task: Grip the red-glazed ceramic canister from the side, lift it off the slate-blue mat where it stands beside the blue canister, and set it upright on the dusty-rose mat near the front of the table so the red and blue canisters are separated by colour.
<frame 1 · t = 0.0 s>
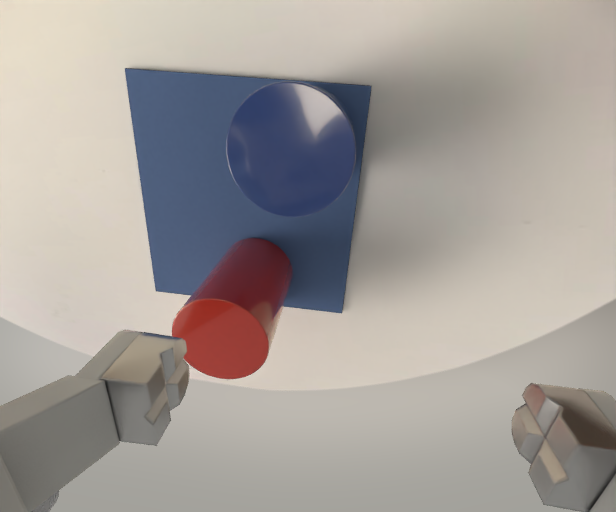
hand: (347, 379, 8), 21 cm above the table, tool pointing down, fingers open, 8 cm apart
blue mat: (247, 203, 29), on the table
red canister: (257, 270, 31), resting on blue mat
blue canister: (310, 134, 26), resting on blue mat
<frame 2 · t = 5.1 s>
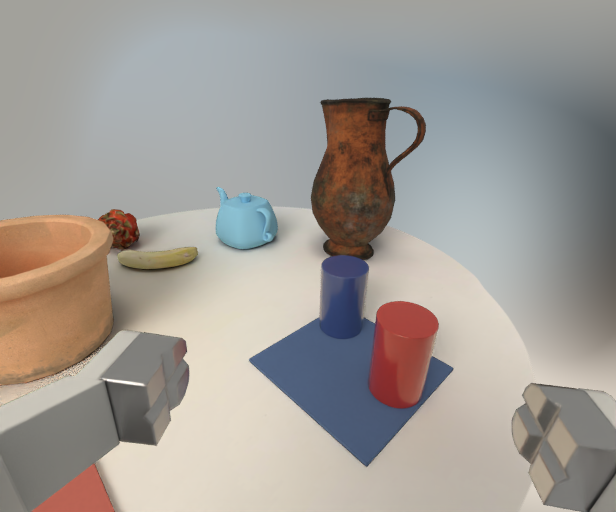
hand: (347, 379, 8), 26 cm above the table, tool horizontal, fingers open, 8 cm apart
blue mat: (350, 365, 45), on the table
teapot: (244, 239, 79), on the table
red canister: (394, 386, 41), resting on blue mat
pitcher: (355, 254, 74), on the table
fruit: (159, 262, 69), on the table
pottery: (46, 340, 48), on the table
blue canister: (340, 324, 51), resting on blue mat
dragon fruit: (120, 245, 75), on the table
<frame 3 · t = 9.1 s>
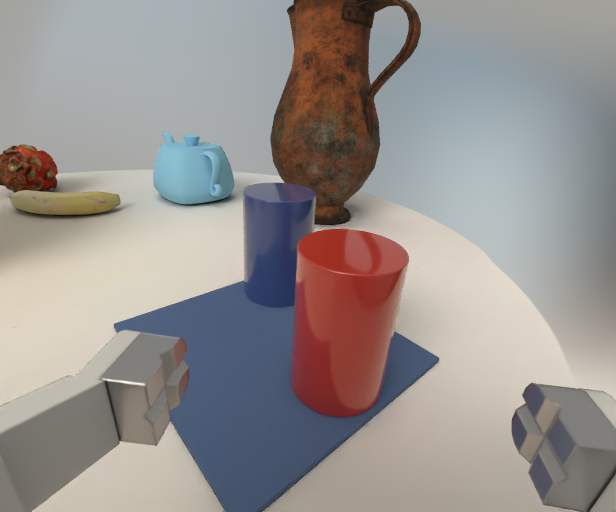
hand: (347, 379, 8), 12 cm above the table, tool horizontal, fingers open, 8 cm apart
blue mat: (272, 344, 28), on the table
teapot: (192, 196, 63), on the table
red canister: (335, 379, 24), resting on blue mat
pitcher: (327, 218, 57), on the table
fruit: (68, 210, 53), on the table
blue canister: (277, 289, 35), resting on blue mat
dragon fruit: (32, 192, 60), on the table
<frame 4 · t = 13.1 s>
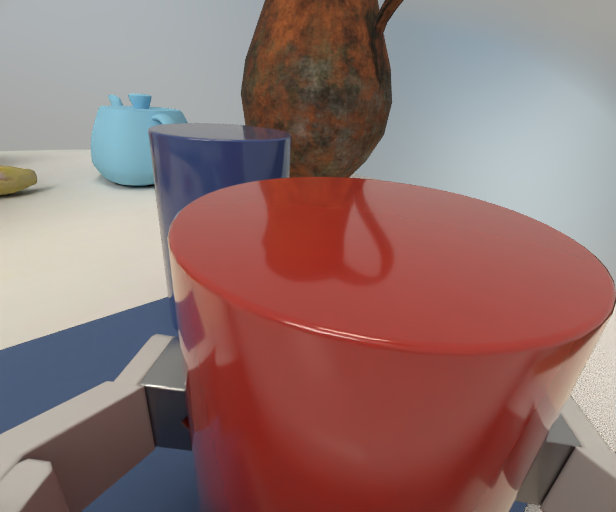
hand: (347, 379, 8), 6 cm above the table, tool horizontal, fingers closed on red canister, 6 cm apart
blue mat: (196, 433, 13), on the table
teapot: (147, 178, 49), on the table
pitcher: (320, 205, 43), on the table
blue canister: (229, 310, 20), resting on blue mat
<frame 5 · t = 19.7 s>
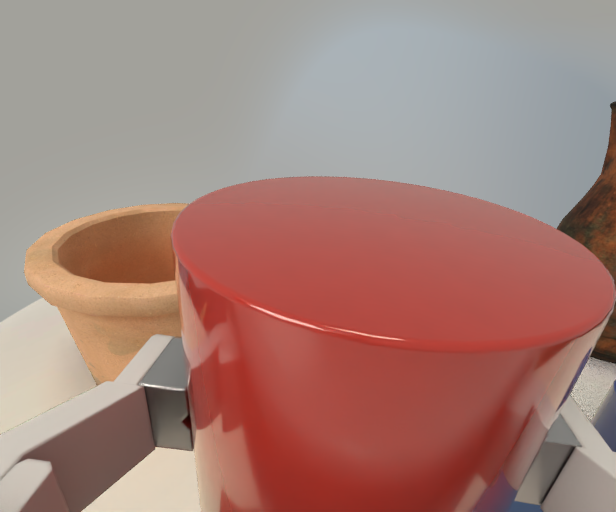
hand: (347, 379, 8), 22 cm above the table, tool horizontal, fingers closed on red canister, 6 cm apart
pitcher: (602, 347, 46), on the table
pottery: (179, 353, 40), on the table
blue canister: (608, 499, 27), resting on blue mat
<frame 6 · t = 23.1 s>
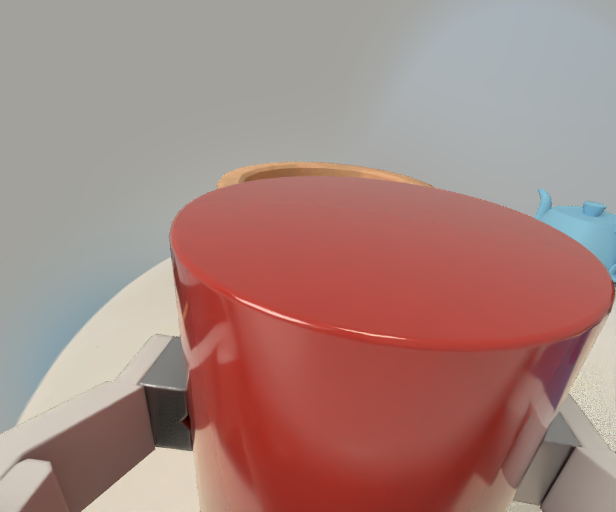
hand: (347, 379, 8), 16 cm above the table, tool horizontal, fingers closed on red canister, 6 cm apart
teapot: (560, 267, 55), on the table
pottery: (320, 307, 40), on the table
when the fingers open (6 cm above the table, at t = 26.4 s): red canister stays where it is, resting on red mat.
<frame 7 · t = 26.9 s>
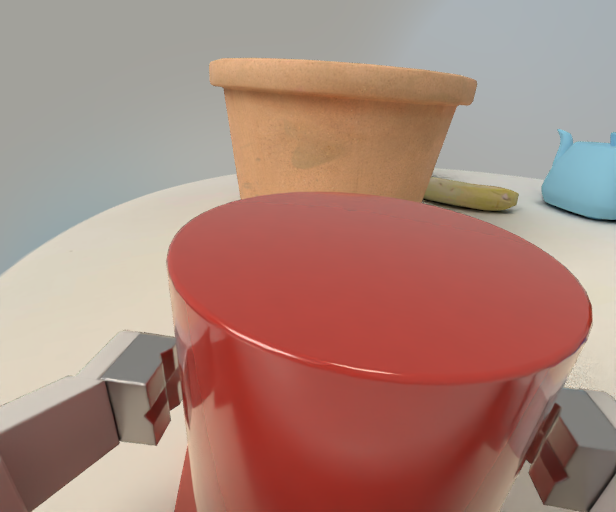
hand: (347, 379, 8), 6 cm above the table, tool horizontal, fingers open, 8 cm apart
teapot: (582, 210, 51), on the table
fruit: (455, 202, 50), on the table
pottery: (325, 230, 36), on the table
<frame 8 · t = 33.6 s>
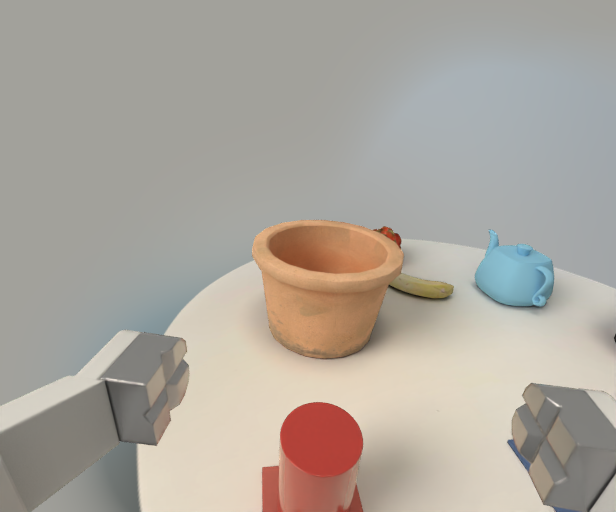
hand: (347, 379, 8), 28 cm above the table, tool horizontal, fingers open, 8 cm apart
teapot: (503, 292, 71), on the table
red canister: (312, 511, 31), resting on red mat
fruit: (412, 287, 71), on the table
pottery: (319, 325, 57), on the table
dragon fruit: (378, 259, 82), on the table
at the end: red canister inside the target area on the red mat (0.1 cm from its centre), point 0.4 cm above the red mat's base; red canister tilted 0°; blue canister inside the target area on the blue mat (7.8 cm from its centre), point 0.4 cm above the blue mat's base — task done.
